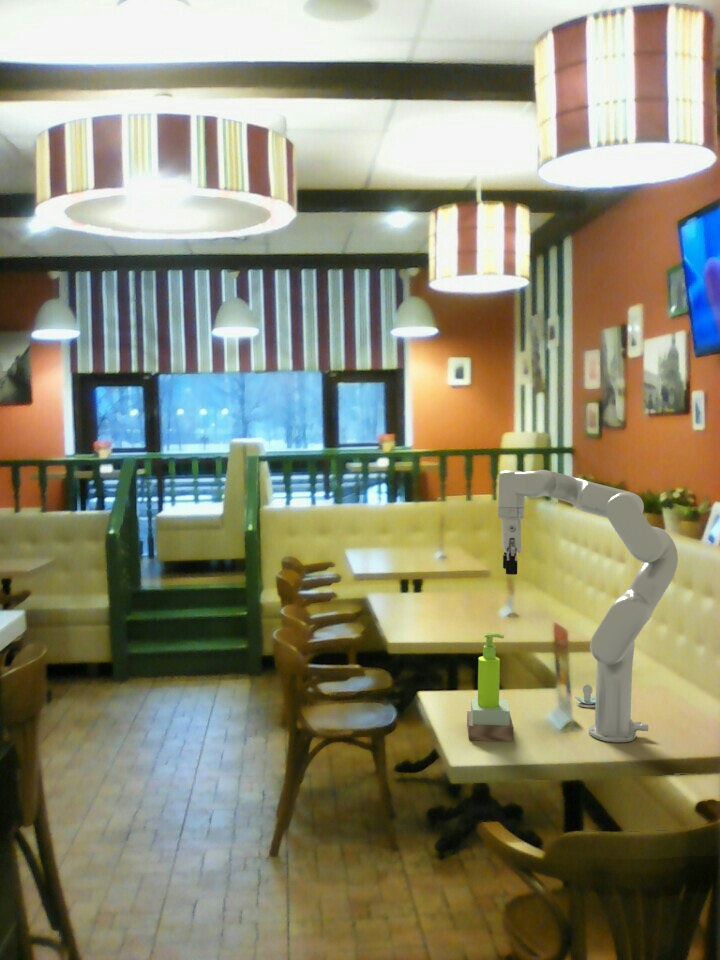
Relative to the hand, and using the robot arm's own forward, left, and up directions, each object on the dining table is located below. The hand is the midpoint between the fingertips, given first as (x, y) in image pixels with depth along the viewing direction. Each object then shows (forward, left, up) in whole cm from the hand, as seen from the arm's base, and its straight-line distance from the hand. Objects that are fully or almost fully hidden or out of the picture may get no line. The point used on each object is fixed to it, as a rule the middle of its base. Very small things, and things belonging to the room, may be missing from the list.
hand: (509, 571), depth 254 cm
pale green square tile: (+6, +14, -39) cm, 42 cm away
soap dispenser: (+6, +14, -36) cm, 39 cm away
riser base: (+6, +14, -43) cm, 46 cm away
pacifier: (-26, -14, -44) cm, 53 cm away
